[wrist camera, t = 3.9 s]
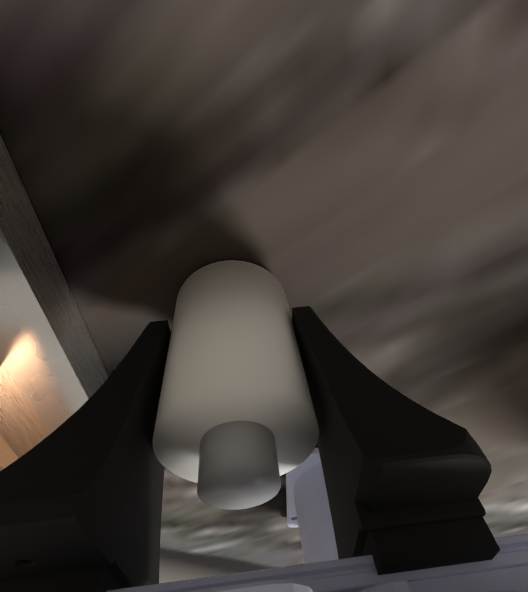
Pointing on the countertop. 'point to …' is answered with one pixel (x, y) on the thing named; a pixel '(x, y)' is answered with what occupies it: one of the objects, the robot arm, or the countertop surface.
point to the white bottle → (233, 388)
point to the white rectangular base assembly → (36, 329)
